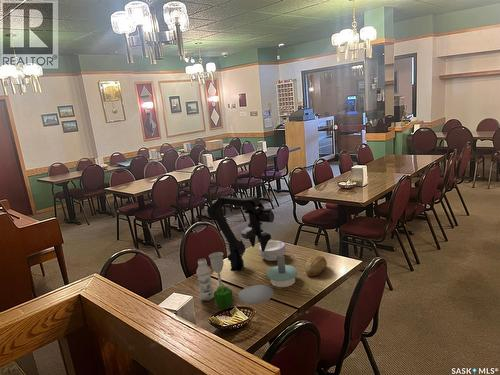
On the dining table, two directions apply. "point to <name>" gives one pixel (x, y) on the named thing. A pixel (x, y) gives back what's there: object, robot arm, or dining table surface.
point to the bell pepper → (223, 297)
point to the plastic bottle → (205, 280)
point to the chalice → (217, 264)
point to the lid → (281, 271)
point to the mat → (255, 294)
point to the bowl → (283, 282)
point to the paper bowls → (273, 250)
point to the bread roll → (315, 265)
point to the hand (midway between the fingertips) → (258, 249)
